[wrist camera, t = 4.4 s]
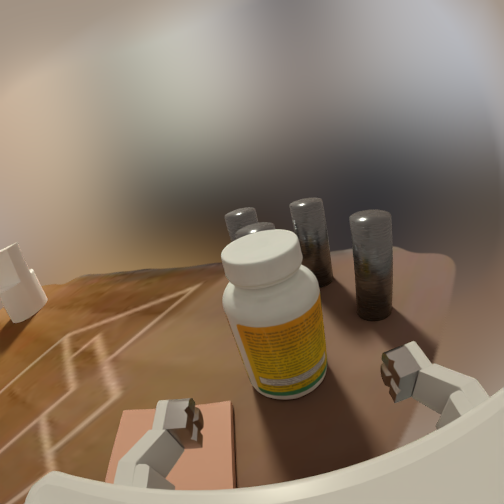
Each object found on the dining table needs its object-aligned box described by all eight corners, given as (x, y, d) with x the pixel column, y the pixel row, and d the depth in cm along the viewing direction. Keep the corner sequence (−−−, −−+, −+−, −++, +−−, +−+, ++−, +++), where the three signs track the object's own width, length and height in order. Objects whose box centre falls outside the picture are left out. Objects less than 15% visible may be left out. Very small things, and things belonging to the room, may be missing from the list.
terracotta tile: (106, 507, 9) (100, 504, 9) (127, 414, 17) (123, 410, 16) (237, 517, 9) (234, 515, 9) (232, 405, 16) (230, 400, 16)
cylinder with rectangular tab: (55, 294, 42) (28, 234, 38) (28, 322, 34) (-5, 256, 29) (30, 299, 43) (5, 246, 39) (5, 324, 35) (-24, 266, 30)
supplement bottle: (236, 372, 19) (191, 253, 15) (294, 335, 21) (268, 219, 18) (282, 417, 15) (241, 284, 11) (344, 368, 17) (334, 233, 13)
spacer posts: (251, 355, 20) (220, 262, 17) (244, 281, 31) (224, 212, 28) (397, 313, 20) (398, 218, 17) (347, 254, 31) (338, 186, 28)
